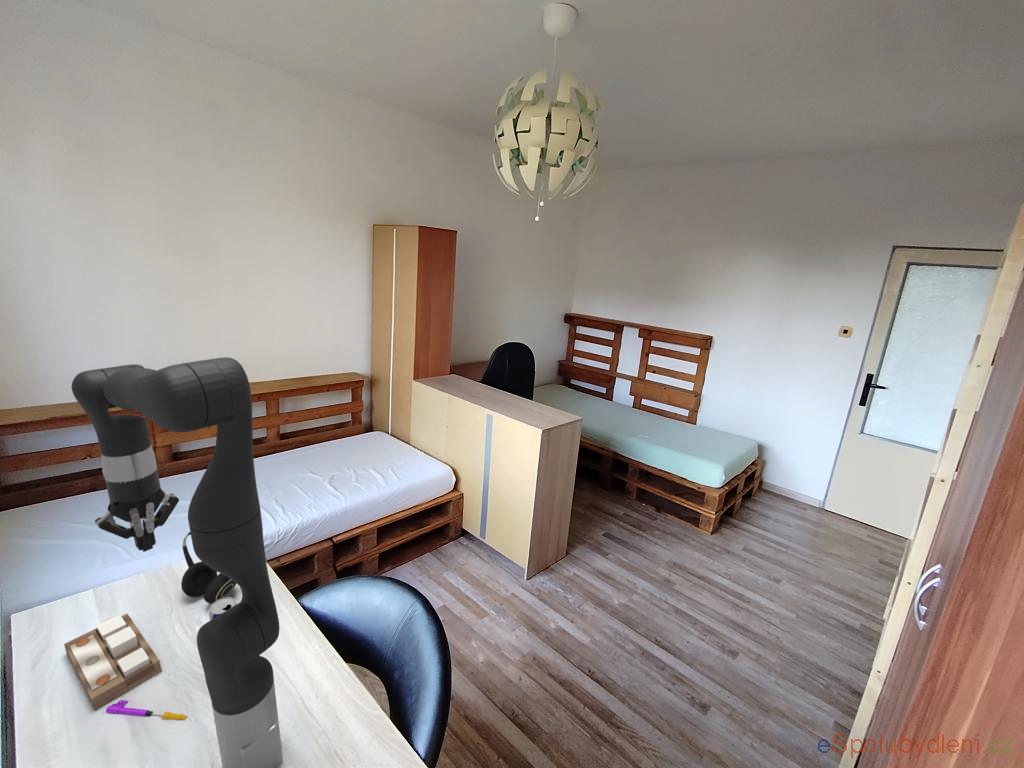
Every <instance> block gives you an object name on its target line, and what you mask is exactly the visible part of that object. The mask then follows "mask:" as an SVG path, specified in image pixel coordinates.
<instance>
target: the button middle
mask: <svg viewBox="0 0 1024 768" xmlns="http://www.w3.org/2000/svg"><path fill="white" fill-rule="evenodd" d="M105 639H106V643H107V647H108V650H109V651H110V653H111V655H112V657H113V658H114V659H115V658H116V657H118V656H120V655H122V654H124V653H126V652H128V651H129V650H131V649H133V648H135V647H137V646H138V642H137V637H136V635H135V633H134V632H133V630H132V629H131V627H130V626H129V627H127V628H125V629H123V630H121V631H119V632H117V633H115V634H113V635H111V636H109V637H107V638H105Z"/></svg>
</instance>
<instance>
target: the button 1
mask: <svg viewBox="0 0 1024 768" xmlns="http://www.w3.org/2000/svg"><path fill="white" fill-rule="evenodd" d="M121 616H122V615H121V614H118V615H117V616H114V617H112V618H111V619H110V618H109V619H108V620H106V621H104V622H102V623H100V624H97V625H96V628H97V630H98V634H99V637H100V639H101V640H102V642H103V641H105V640H106V639H105V638H107V637H109V636H111V635H113V634H115V633H117V632H119V631H121V630H123V629H125V628H127V625H126V623H125V621H124V620H123V618H122V617H121Z"/></svg>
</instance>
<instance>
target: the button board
mask: <svg viewBox="0 0 1024 768" xmlns="http://www.w3.org/2000/svg"><path fill="white" fill-rule="evenodd" d="M121 617H122V618H123V620H124V621H125V623H126V625H127V627H129V626H130V627H131V629H132V630H133V632H134V633H135V635H136V637H137V642H138V646H137V647H135V648H133V649H131V650H129V651H128V652H126V653H124V654H122V655H120V656H118V657H116V658H115V659H114V658H113V657H112V655H111V653H110V651H109V650H108V647H107V643H106V640H105V641H103V642H102V640H101V639H100V637H99V634H98V630H97V627H95V628H94V629H92V630H90V631H87V632H86V633H84V634H81V635H79V636H78V637H75V638H74V639H71V640H70V641H67V642H65V643H64V644H63V646H64V649H65V654H66V656H67V657H68V659H69V661H70V664H71V666H72V667H73V670H74V671H75V672H74V673H76V675H77V678H78V679H79V681H80V684H81V685H82V687H83V690H84V692H85V694H86V696H87V698H88V700H89V702H90V704H91V705H92V708H93V710H94V711H97V710H98V709H100V708H102V707H103V706H105V705H107V704H109V703H111V702H112V701H113V700H116V699H117V698H119V697H121V696H122V695H123V694H125V693H127V692H129V691H132V689H134V688H135V687H138V686H139V685H140V684H142V683H145V682H146V681H147V680H149V679H151V678H152V677H154V676H156V675H157V674H160V673H161V672H162V671H163V670H162V666H161V661H160V659H159V658H158V656H157V654H156V653H155V652H154V650H153V648H152V647H151V646H150V644H149V643H148V641H147V640H146V639H145V637H144V636H143V634H142V632H141V631H140V630H139V628H138V627H137V626H136V624H135V622H134V621H133V619H132V618H131V617H130V615H129V613H125V614H122V615H121ZM140 648H143V650H144V651H145V653H146V654H147V656H148V657H149V660H150V664H149V665H147V666H145V667H143V668H142V669H140V670H138V671H136V672H135V673H133V674H131V675H129V676H128V677H126V678H123V676H122V674H121V673H120V670H119V666H118V662H117V661H118V660H120V659H121V658H123V657H125V656H127V655H129V654H131V653H132V652H134V651H136V650H138V649H140Z"/></svg>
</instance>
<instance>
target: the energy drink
mask: <svg viewBox="0 0 1024 768" xmlns="http://www.w3.org/2000/svg"><path fill="white" fill-rule="evenodd" d="M237 604H238V602H237V601H236V599H235V598H234V597H231V596H227V597H225V598H221V599H219V600H217V601H215V602H214V603H213V604H210V606H209V611H208V616H209V621H210V620H212V619H214V618H215V617H217V616H218V615H220V614H222V613H223V612H225V611H227V610H228V609H230V608H232V607H233V606H235V605H237Z"/></svg>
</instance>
